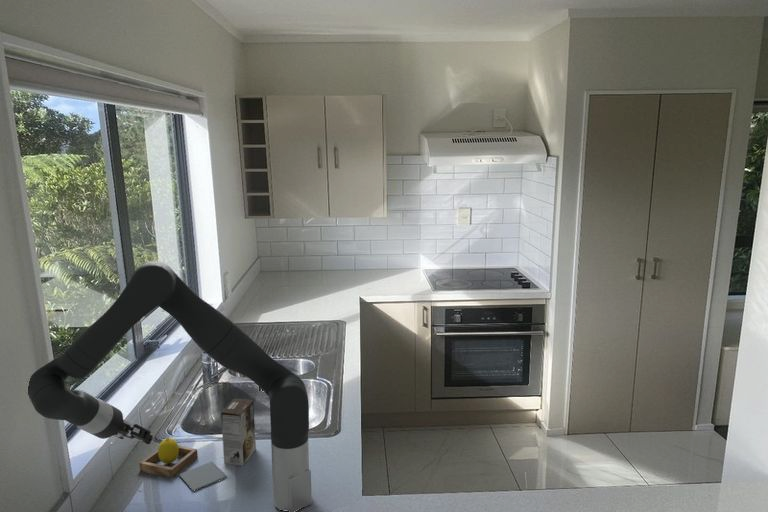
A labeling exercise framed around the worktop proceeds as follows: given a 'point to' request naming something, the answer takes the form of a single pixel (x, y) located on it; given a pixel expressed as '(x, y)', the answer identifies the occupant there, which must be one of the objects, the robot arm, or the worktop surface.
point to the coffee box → (238, 431)
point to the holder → (166, 471)
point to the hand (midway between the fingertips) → (137, 437)
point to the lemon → (168, 450)
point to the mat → (203, 475)
